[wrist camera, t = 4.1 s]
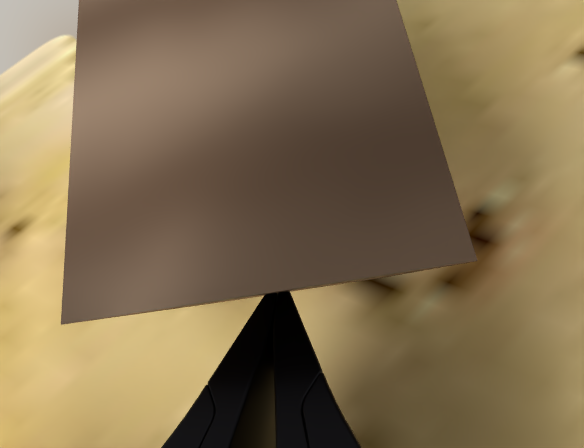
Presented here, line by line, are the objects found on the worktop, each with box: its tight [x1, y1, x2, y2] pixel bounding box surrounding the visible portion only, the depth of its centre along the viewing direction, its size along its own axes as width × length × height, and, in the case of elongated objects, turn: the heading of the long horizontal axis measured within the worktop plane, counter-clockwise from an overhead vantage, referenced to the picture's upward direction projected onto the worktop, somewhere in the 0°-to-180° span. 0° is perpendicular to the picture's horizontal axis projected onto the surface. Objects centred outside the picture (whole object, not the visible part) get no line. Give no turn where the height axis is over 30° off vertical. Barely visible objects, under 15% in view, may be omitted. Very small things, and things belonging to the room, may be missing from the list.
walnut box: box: [61, 0, 477, 325], centre depth 13 cm, size 16×10×10 cm, turn 8°
